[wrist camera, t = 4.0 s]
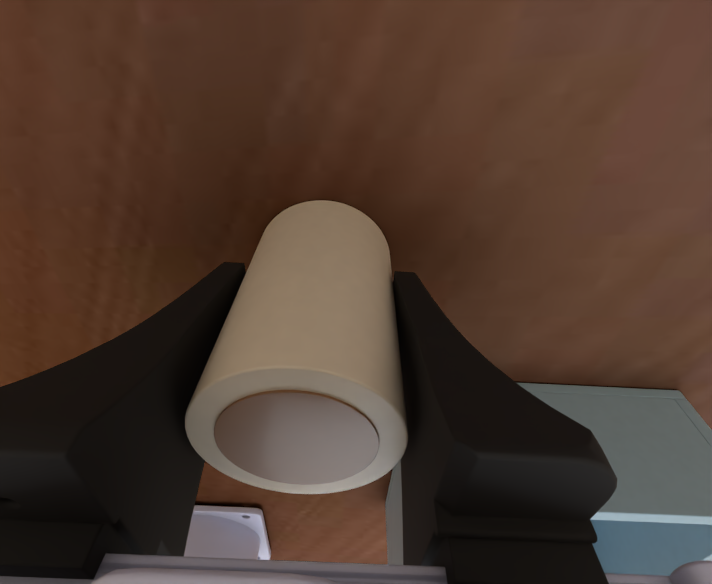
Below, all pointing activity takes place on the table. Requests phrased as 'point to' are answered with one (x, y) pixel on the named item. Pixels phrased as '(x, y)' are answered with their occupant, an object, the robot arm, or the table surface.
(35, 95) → the table surface
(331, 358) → the paper roll
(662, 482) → the light blue open box
